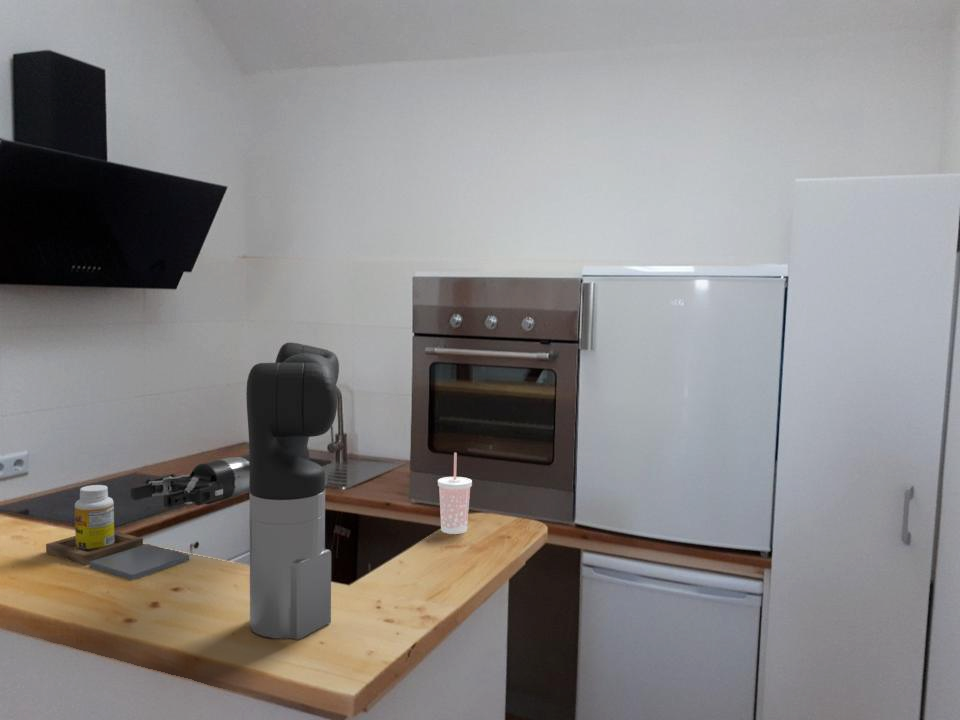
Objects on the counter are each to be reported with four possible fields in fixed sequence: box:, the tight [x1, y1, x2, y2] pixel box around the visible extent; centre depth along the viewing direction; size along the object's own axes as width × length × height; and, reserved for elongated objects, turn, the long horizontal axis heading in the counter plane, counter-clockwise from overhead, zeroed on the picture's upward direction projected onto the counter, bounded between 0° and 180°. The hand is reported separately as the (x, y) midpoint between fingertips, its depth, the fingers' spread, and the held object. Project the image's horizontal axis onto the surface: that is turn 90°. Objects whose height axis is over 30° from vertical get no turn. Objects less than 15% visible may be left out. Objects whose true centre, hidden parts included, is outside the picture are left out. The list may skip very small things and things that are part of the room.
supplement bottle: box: [74, 484, 115, 552], centre depth 125 cm, size 6×6×10 cm
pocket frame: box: [45, 530, 144, 566], centre depth 126 cm, size 10×10×2 cm
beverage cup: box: [437, 452, 473, 535], centre depth 140 cm, size 6×6×14 cm
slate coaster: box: [89, 543, 190, 581], centre depth 120 cm, size 10×10×1 cm
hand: (148, 497), depth 134 cm, fingers open, 8 cm apart
